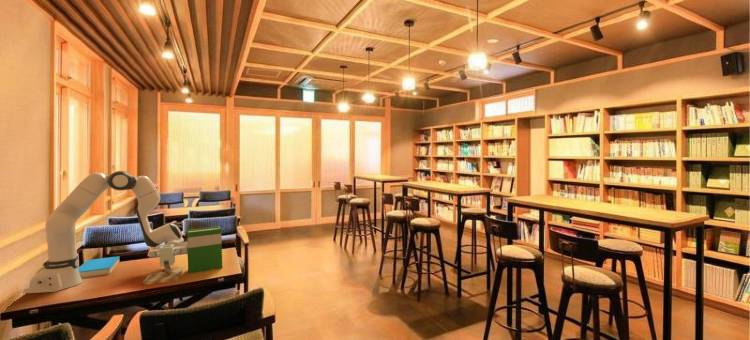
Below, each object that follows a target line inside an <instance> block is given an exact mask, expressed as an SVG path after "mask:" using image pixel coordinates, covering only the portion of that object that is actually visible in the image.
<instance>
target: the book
mask: <svg viewBox="0 0 750 340" xmlns="http://www.w3.org/2000/svg"><path fill="white" fill-rule="evenodd" d="M120 257H121V256H110V257H102V258H94V259H93V258H92V259H87V260H86V261H84V263H82V264H81V265H80V266H78V270H79V274H80V277H81V279H83V278H89V277H95V276H104V275H110V274H111V273H112V272H113V271H114V269H115V268H116V267H117V266H118V264H119V263H120Z"/></svg>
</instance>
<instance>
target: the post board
mask: <svg viewBox="0 0 750 340" xmlns="http://www.w3.org/2000/svg"><path fill="white" fill-rule="evenodd" d="M163 268H164V271H158V272H150V273H149V274H148V275H147V277H146V278H145V279H143V281H142V285H143V286H146V285H154V284H161V283H170V282H177V281H178V280H179V278H180V277H181V275H182V274H183V269H177V270H171V265H169V262H165V263H164V266H163Z"/></svg>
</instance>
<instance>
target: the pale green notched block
mask: <svg viewBox="0 0 750 340" xmlns="http://www.w3.org/2000/svg"><path fill="white" fill-rule="evenodd" d="M173 252H175V251H174V244H173V245H165V244H164V245H160V248H159V254H160V257H159V266H160V267H164V263H165V262H169V265H170V266H174V264H175V262H176V255H174V256H173Z"/></svg>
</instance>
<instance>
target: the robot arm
mask: <svg viewBox="0 0 750 340" xmlns="http://www.w3.org/2000/svg"><path fill="white" fill-rule="evenodd" d="M108 189H113V190H115V191H120V192H121V191H128V190H130V191H131V192H132V193H133V194H134V196H135V197H136V200H137V203H138V204H137V205H138V206H137V207H136V209H135V211H136V216H137V217H136V218H137V221H138V223H139V227H140V230H141V232H142V235H143V240H144V241H143V242H144V244H145V245H146V246H147V247H149V248H151V249H149V250H148V258H160V254H159V248H160V247H161V245H162V244H164V243H165V244H164V245H173V244H174V251H175V252H173V256H174V255H175V256H178V255H186V254H187V255H188V244H187V240H186V241H185V239H184V238H183V235H182V230H181V229H180V227H179V225H177V224H176V223H174V222H169V223H166V224H164V225H162V226H159V227H157V228H155V229H152V228H151V225H150V222H149V218H148V217H149V214H150V212H152V211H153V210H154V209H155V208H156V207H157V206H158V205H159V203H160V202H161V195H160V192H159V191H158V189H157V187H156V185H155V184H154V182H153V181H152V179H150V177H148V176H146V175H138V176H133V175H131V173H129V172H128V171H126V170H125V171H124V170H117V171H114V172H112V173H109V174H108V175H106V174H104V173H102V172H98V171H95V172H92V173H90V174H89V175H87V176H86V177H85V178H84V179H83V180H81V182H79V183H78V185H76V187H75V188H74V189H73V190H72V191H71V192H70V193H69V195H68V196H66V198H65V199H64V200H63V201H62V202H61V203H60V204H58V206H57V207H56V208H55V209H54V210H53V212H51V213H50V214H49V216H48V217H47V219H46V221H45V233H46V234H45V235H46V244H47V258H48V259H47V260H46V261H44V263H42V267H44V268H43V269H41V270H40V271H38V272H37V273H36V274H35V275H33V276H32V277H31V278H30V280H29V283H28V286H27V287H25V288H23V290H22V294H38V293H39V294H40V293H53V292H54V293H55V292H60V291H62V290H65V289H68V288H71V287H75V286H78V285H79V284H81V283H83V278H81V277H80V274H79V270H78V268H79V263H80V261H79V256H78V254H77V251H78V250H77V236H76V233H77V232H76V223H77V221H79V219H80V218H82V216H83V215H84V214H86V212H87V211H88V210H89V209H90V208H91V207H92V206H93V204H94V203H95V202H96V201H97V200H98V199H99V197H100V196H101V195H102V194H103V193H105V191H106V190H108ZM159 246H160V247H159Z"/></svg>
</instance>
